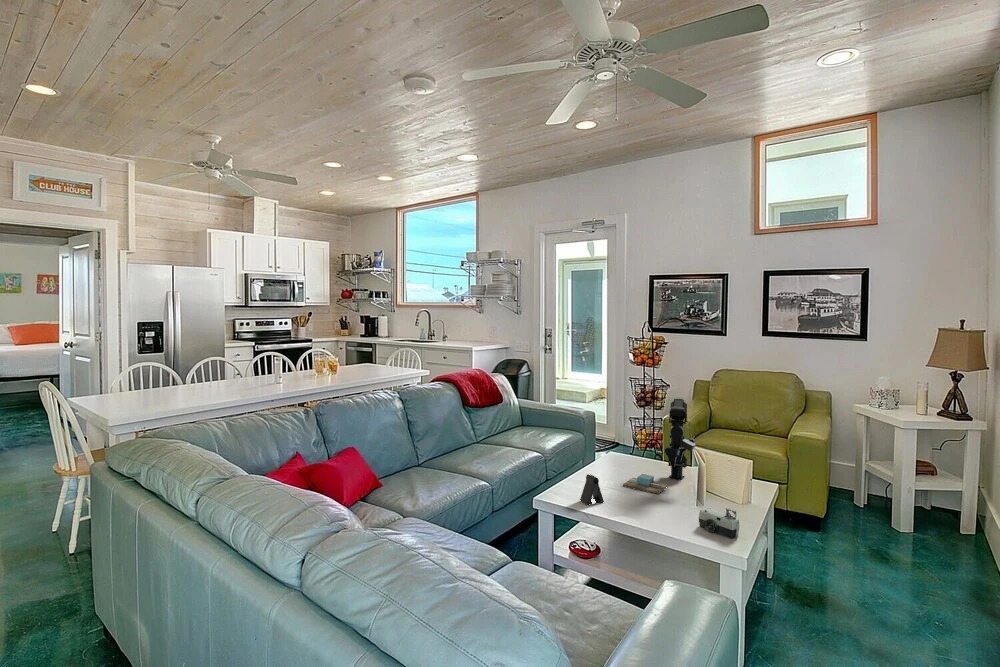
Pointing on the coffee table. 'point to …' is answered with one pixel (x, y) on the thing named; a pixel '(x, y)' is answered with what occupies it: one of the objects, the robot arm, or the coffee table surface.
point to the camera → (719, 522)
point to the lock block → (645, 480)
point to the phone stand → (591, 490)
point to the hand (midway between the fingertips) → (676, 464)
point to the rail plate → (653, 487)
